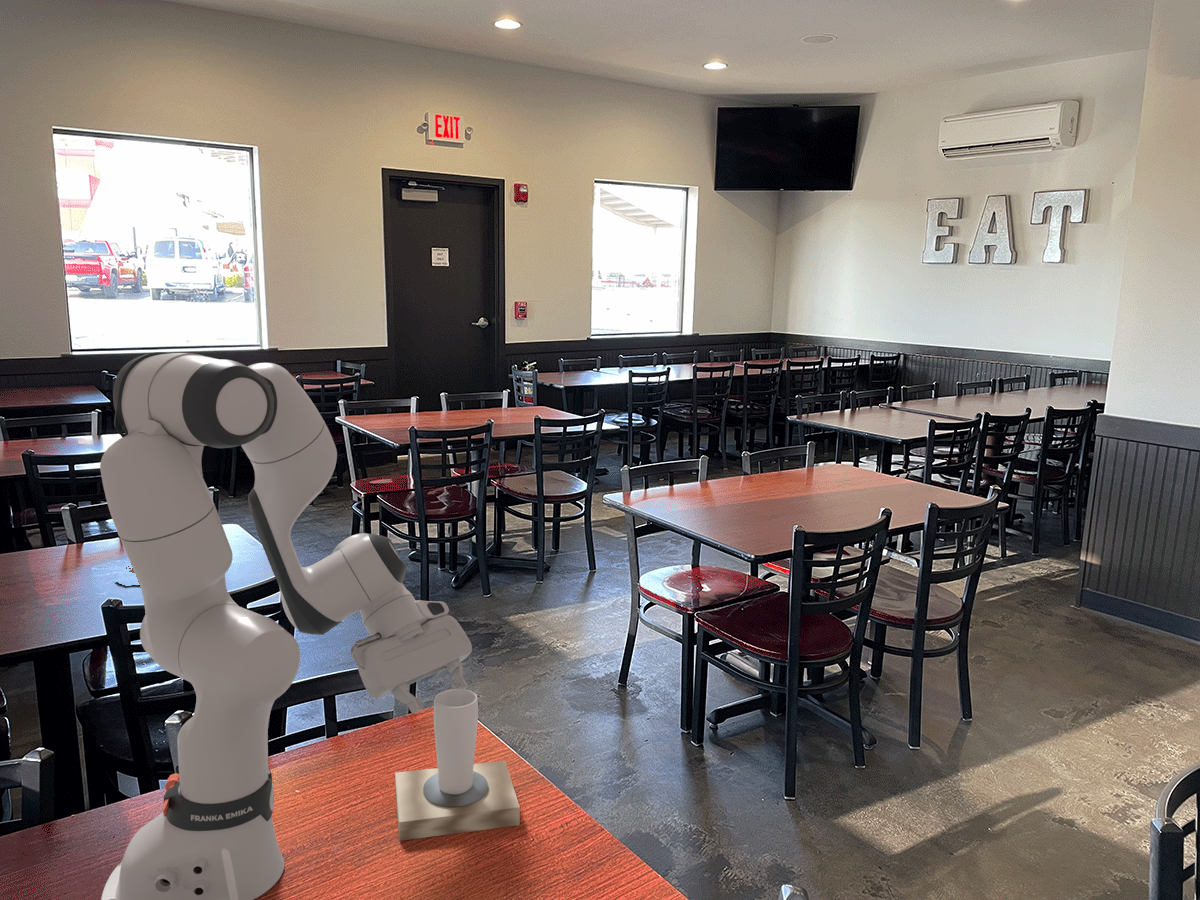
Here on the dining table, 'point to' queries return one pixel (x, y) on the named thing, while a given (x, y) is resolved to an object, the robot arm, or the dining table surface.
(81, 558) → the dining table surface
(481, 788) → the block
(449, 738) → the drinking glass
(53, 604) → the dining table surface
